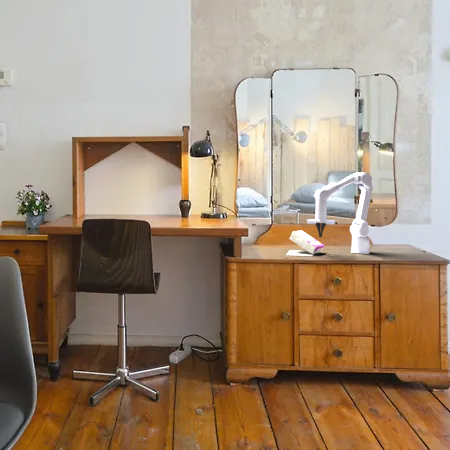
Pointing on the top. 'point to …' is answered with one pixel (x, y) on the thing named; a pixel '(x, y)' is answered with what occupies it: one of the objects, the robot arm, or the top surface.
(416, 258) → the top surface
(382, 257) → the top surface
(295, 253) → the mat
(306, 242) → the candy bar box
